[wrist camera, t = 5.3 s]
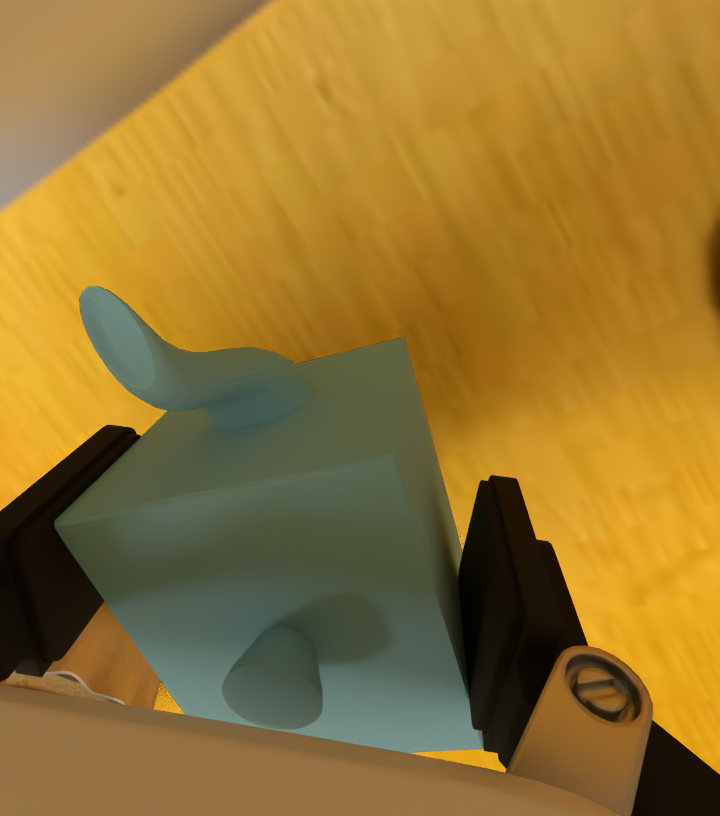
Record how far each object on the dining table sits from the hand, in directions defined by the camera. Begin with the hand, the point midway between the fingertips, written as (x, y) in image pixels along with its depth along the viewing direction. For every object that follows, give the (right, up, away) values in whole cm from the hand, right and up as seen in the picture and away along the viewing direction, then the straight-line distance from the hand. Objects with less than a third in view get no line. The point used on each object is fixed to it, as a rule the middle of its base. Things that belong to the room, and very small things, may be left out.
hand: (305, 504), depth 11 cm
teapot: (0, +2, +3) cm, 4 cm away
